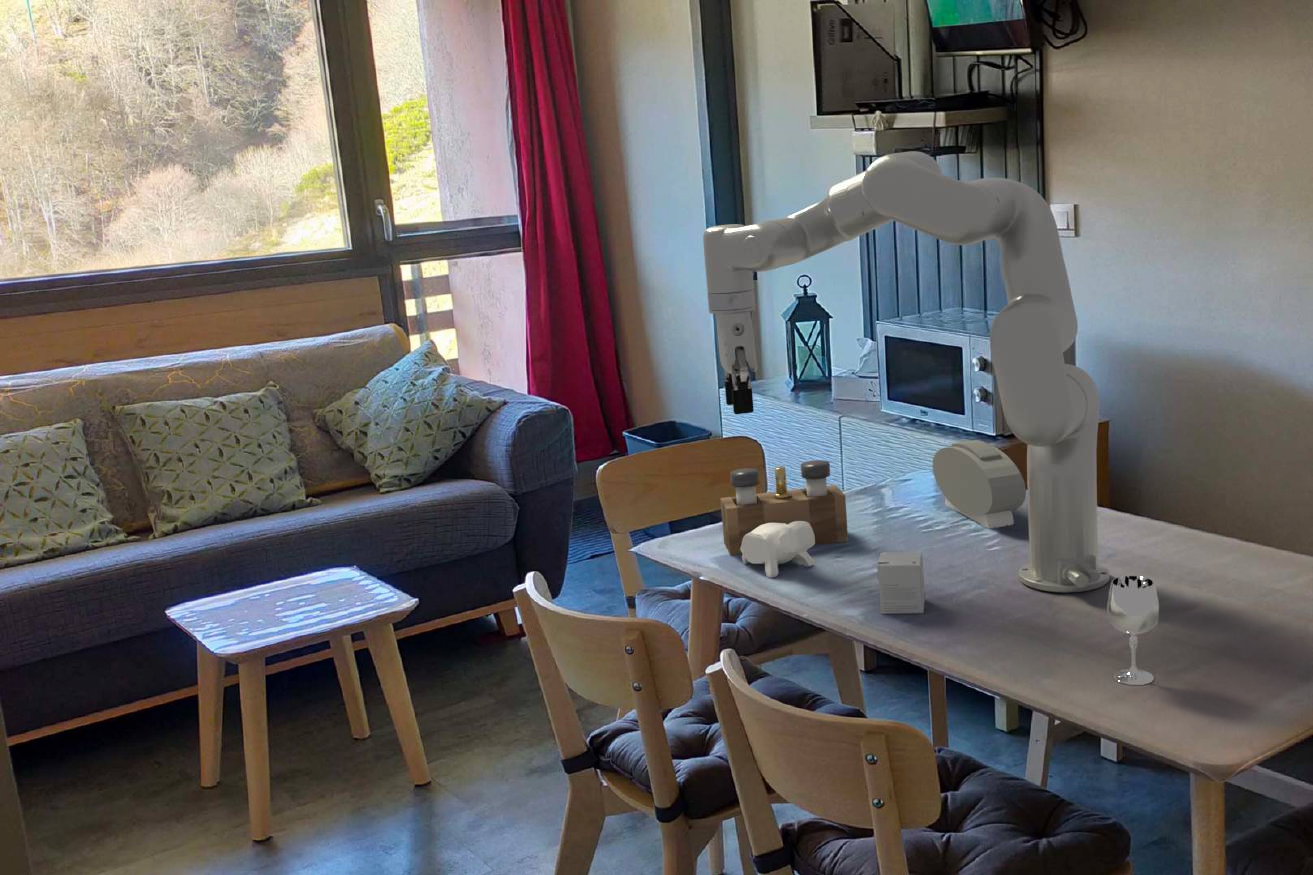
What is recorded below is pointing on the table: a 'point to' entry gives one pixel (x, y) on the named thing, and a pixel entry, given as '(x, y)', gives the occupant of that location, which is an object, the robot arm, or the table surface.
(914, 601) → the skincare box
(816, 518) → the walnut mount
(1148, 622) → the wineglass
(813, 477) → the knob
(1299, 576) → the table surface
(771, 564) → the white piece
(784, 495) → the brass door knob
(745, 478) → the dark grey rounded lump
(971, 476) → the alarm clock
